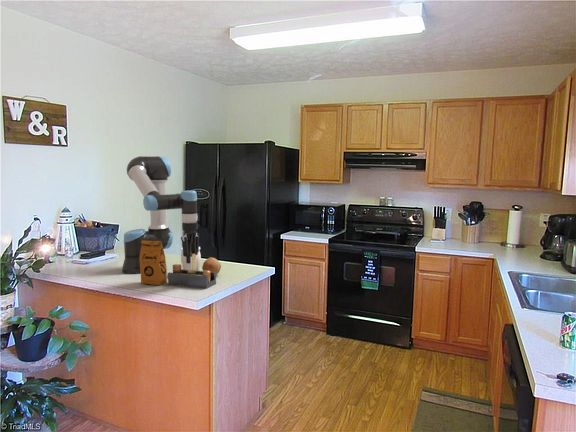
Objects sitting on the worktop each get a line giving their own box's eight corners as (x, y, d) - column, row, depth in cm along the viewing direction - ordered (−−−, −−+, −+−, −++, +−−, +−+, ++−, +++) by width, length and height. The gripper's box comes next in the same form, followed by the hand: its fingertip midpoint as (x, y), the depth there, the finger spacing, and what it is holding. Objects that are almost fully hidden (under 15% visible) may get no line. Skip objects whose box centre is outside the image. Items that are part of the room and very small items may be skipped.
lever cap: (180, 280, 212) (179, 254, 210) (186, 277, 217) (185, 252, 215) (198, 281, 209) (197, 255, 207) (203, 279, 213) (202, 253, 212)
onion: (222, 277, 226) (221, 258, 225) (203, 278, 223) (202, 260, 222) (220, 273, 235) (219, 255, 234) (201, 274, 233) (201, 256, 232)
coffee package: (159, 287, 209) (157, 242, 206) (137, 285, 212) (135, 241, 210) (170, 281, 218) (168, 239, 216) (149, 280, 222) (147, 238, 219)
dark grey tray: (168, 284, 212) (167, 266, 211) (178, 280, 221) (177, 262, 220) (206, 288, 205) (206, 269, 204) (216, 283, 213) (215, 265, 212)
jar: (204, 273, 236) (204, 246, 234) (194, 277, 226) (193, 249, 224) (188, 271, 239) (187, 245, 237) (177, 276, 229) (176, 248, 228)
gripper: (187, 224, 201) (189, 272, 203) (205, 220, 216) (206, 265, 218) (173, 223, 203) (175, 271, 206) (192, 219, 218) (193, 264, 221)
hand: (191, 268), depth 212 cm, fingers open, 3 cm apart
